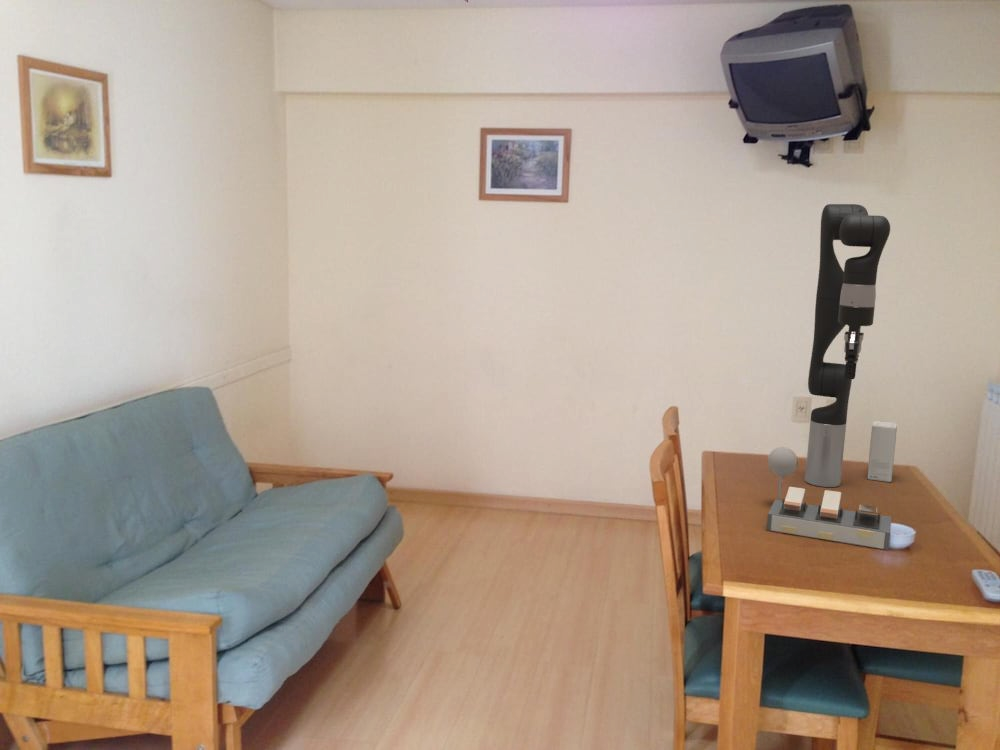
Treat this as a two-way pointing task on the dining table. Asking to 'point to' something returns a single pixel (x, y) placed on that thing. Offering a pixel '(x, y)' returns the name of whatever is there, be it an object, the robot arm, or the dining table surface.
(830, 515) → the switch
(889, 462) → the skincare box
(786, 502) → the switch
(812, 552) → the dining table surface
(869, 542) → the switch unit
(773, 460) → the lollipop
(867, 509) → the switch
